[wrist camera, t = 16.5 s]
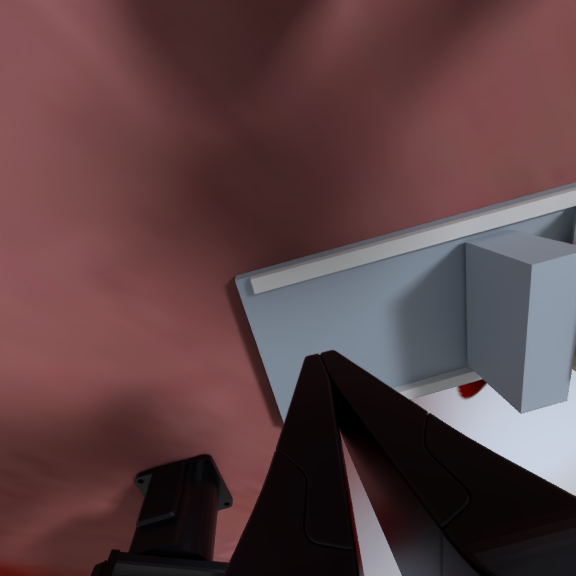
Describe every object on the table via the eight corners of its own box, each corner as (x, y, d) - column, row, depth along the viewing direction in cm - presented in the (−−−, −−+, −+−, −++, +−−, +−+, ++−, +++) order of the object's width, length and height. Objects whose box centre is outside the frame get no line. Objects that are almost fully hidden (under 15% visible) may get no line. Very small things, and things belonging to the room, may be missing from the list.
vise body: (584, 334, 25) (688, 385, 19) (284, 418, 25) (294, 498, 19) (611, 172, 20) (763, 174, 14) (235, 275, 20) (229, 322, 14)
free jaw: (510, 352, 23) (574, 398, 19) (467, 365, 23) (520, 413, 19) (517, 227, 20) (599, 246, 15) (465, 241, 19) (532, 264, 15)
